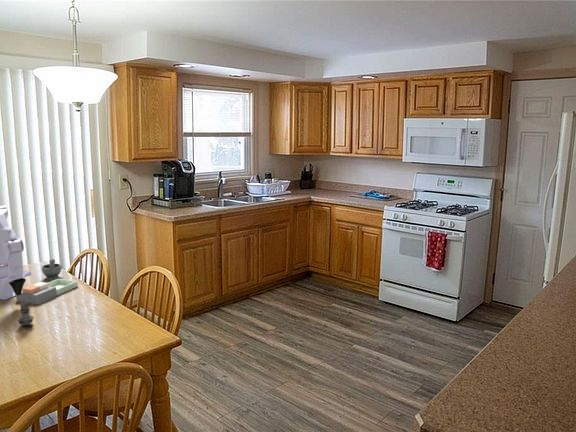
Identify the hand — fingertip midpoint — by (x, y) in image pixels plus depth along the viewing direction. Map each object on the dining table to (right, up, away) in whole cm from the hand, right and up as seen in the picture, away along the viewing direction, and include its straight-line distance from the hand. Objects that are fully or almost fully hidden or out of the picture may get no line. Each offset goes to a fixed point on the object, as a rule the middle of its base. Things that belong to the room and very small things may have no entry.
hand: (18, 294), depth 216 cm
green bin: (+7, -1, +23) cm, 24 cm away
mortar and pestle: (-5, +2, +41) cm, 41 cm away
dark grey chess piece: (+15, -10, -21) cm, 27 cm away
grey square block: (+3, -4, +11) cm, 12 cm away
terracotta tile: (+2, 0, +7) cm, 7 cm away
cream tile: (+4, +1, +12) cm, 13 cm away
